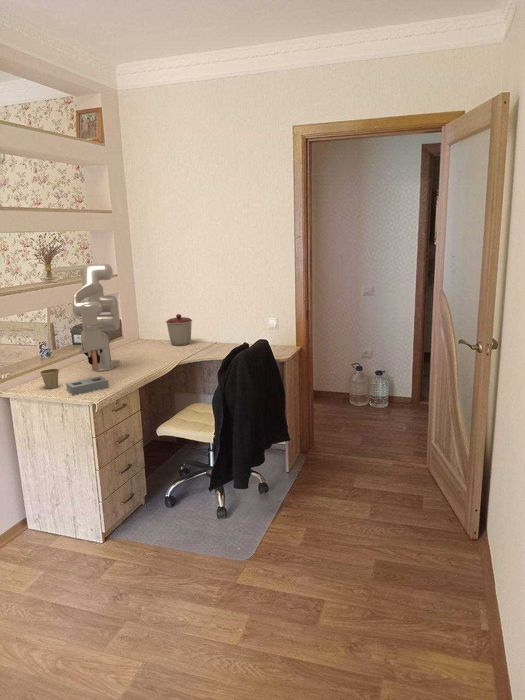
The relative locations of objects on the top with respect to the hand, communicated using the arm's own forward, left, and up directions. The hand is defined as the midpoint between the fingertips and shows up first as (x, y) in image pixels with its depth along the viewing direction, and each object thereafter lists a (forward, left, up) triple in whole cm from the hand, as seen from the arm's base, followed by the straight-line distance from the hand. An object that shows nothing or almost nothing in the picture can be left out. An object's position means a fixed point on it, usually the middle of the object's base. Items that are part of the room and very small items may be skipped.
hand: (94, 363), depth 271 cm
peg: (0, 0, -3) cm, 3 cm away
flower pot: (+18, -18, -13) cm, 29 cm away
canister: (-80, -58, -13) cm, 100 cm away
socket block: (+5, 0, -13) cm, 14 cm away
